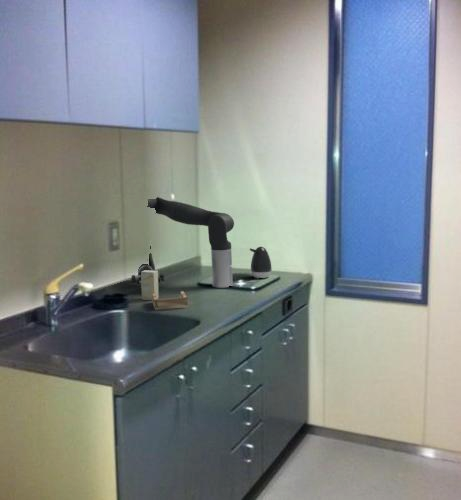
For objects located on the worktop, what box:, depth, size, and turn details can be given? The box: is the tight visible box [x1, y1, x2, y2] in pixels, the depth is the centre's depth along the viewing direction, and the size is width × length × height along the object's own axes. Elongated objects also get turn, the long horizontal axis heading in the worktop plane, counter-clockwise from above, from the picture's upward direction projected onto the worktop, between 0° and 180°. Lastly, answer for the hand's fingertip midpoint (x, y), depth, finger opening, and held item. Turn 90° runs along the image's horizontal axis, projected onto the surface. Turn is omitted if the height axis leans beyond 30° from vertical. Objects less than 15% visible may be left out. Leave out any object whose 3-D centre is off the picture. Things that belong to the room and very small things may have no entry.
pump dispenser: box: [249, 246, 273, 279], centre depth 307 cm, size 10×10×15 cm
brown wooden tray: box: [151, 290, 189, 311], centre depth 258 cm, size 13×13×4 cm
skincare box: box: [140, 270, 160, 301], centre depth 269 cm, size 6×4×12 cm
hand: (148, 281), depth 274 cm, fingers open, 8 cm apart
